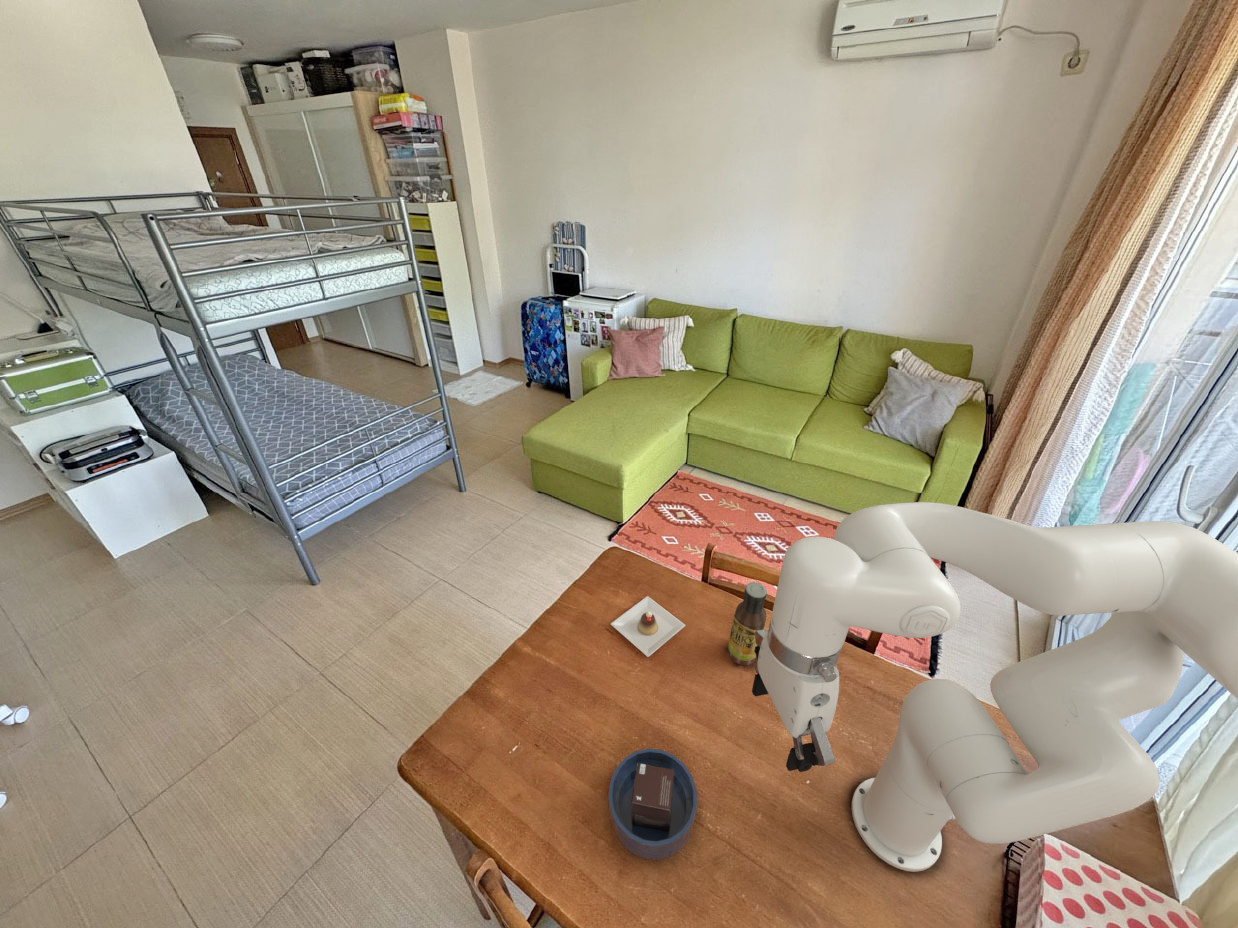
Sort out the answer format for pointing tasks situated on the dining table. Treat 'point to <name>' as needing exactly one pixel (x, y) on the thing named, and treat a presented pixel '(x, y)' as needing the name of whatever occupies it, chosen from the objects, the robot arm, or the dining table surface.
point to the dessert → (647, 625)
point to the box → (652, 797)
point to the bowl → (682, 810)
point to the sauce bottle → (747, 624)
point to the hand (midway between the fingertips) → (779, 726)
